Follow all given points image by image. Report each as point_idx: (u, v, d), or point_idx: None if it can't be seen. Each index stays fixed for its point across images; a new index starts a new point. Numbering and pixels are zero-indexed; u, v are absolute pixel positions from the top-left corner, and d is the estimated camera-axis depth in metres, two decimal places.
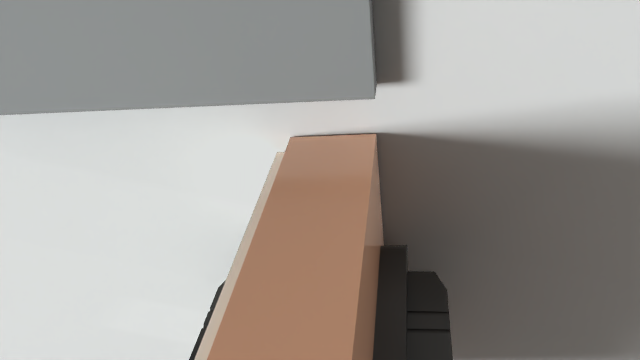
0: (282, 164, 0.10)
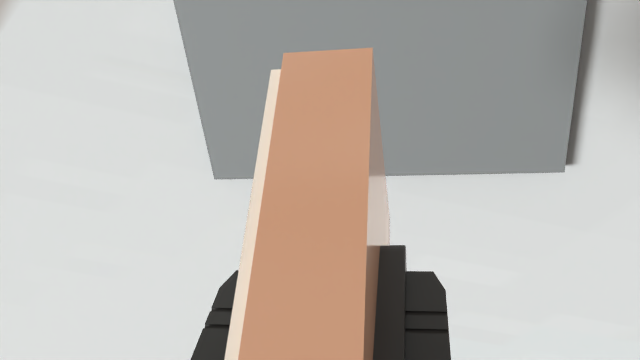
0: (279, 95, 0.10)
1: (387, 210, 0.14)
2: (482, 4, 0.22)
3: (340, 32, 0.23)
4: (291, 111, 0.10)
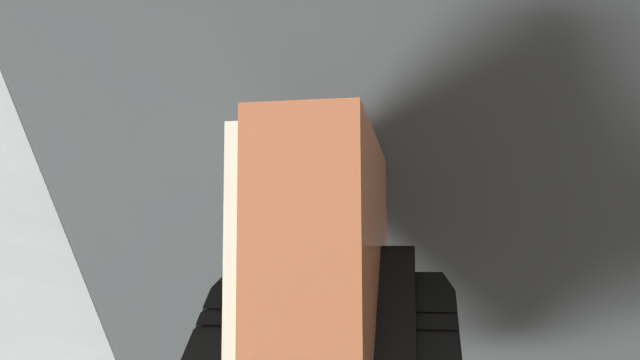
0: (240, 179, 0.07)
1: (383, 171, 0.12)
2: (548, 150, 0.13)
3: None
4: (258, 208, 0.07)
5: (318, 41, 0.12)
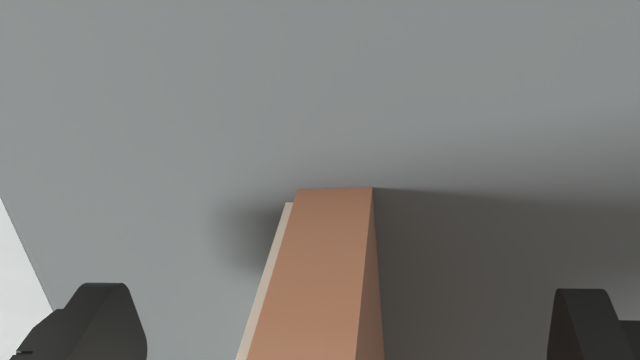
0: None
1: (370, 232, 0.11)
2: (548, 176, 0.12)
3: (281, 211, 0.13)
4: None
5: (295, 61, 0.11)
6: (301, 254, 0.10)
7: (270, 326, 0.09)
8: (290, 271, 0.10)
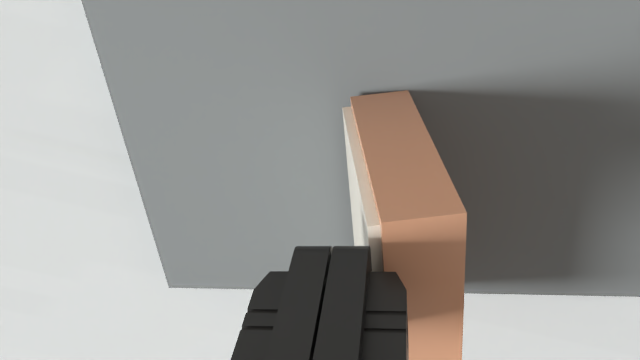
0: (385, 264, 0.11)
1: None
2: (542, 79, 0.15)
3: (336, 111, 0.17)
4: None
5: None
6: (376, 130, 0.14)
7: (378, 167, 0.13)
8: (374, 139, 0.14)
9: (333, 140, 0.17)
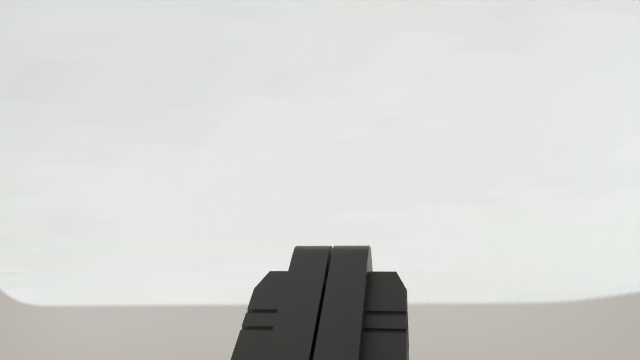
0: None
1: None
2: None
3: None
4: None
5: None
6: None
7: None
8: None
9: None
